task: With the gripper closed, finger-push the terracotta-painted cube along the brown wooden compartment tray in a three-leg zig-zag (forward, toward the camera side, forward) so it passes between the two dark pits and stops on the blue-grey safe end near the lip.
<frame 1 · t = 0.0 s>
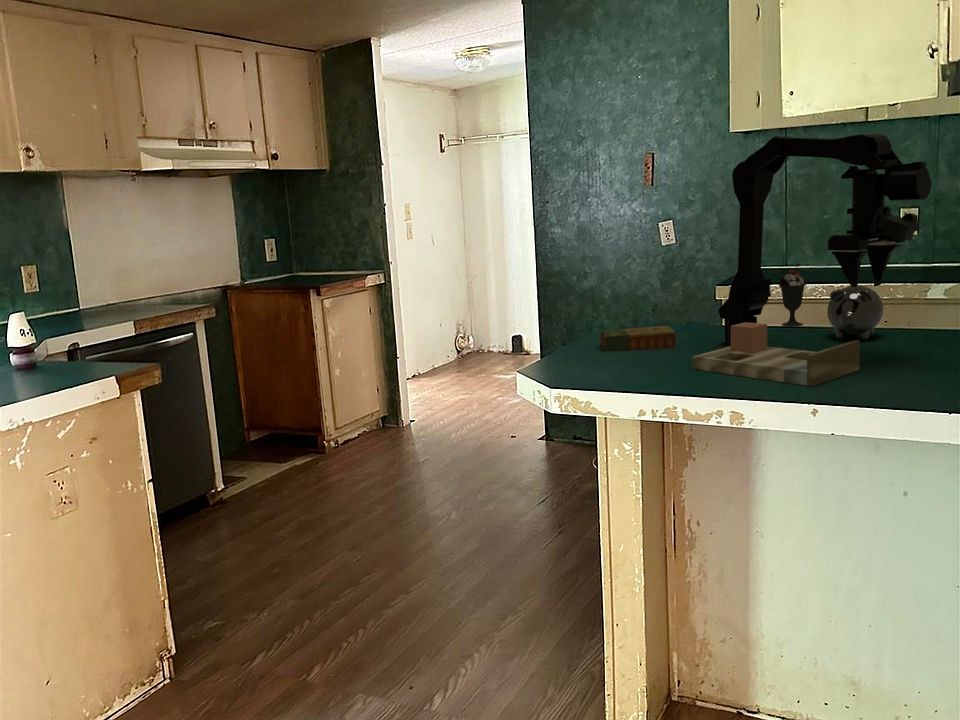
hand: (866, 283, 160), 15 cm above the table, fingers open, 9 cm apart
block: (748, 349, 166), point 2 cm above the table, touching brown wooden compartment tray
carton: (637, 349, 190), on the table
piggy bank: (853, 338, 183), on the table
brown wooden compartment tray: (773, 369, 158), on the table
sundae: (792, 325, 204), on the table
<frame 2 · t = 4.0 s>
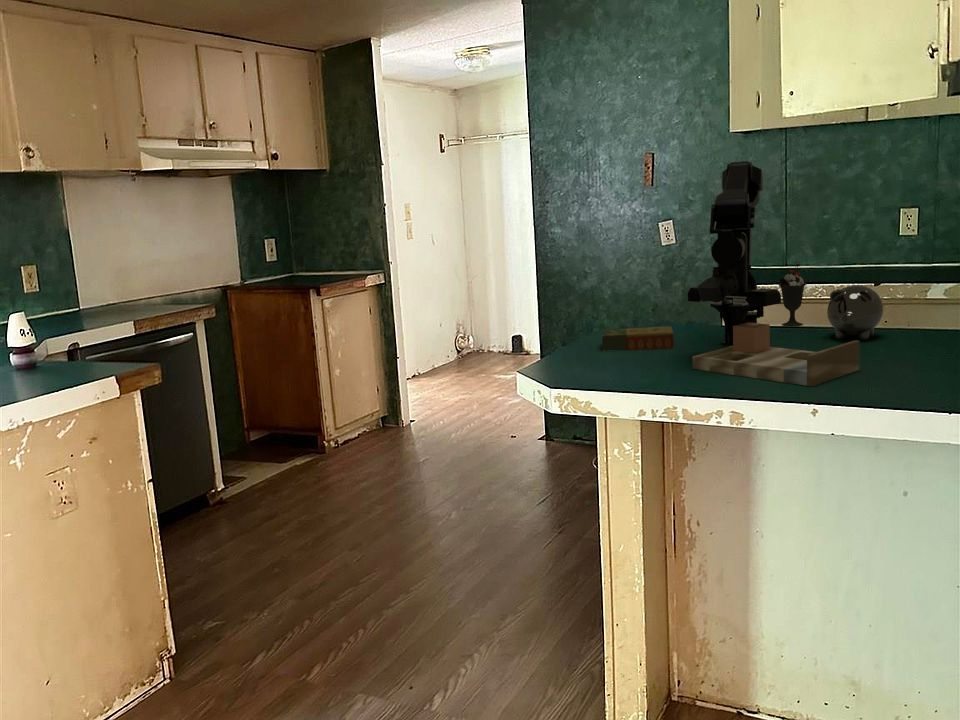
hand: (732, 337, 169), 5 cm above the table, fingers closed
block: (751, 349, 166), point 3 cm above the table, touching gripper
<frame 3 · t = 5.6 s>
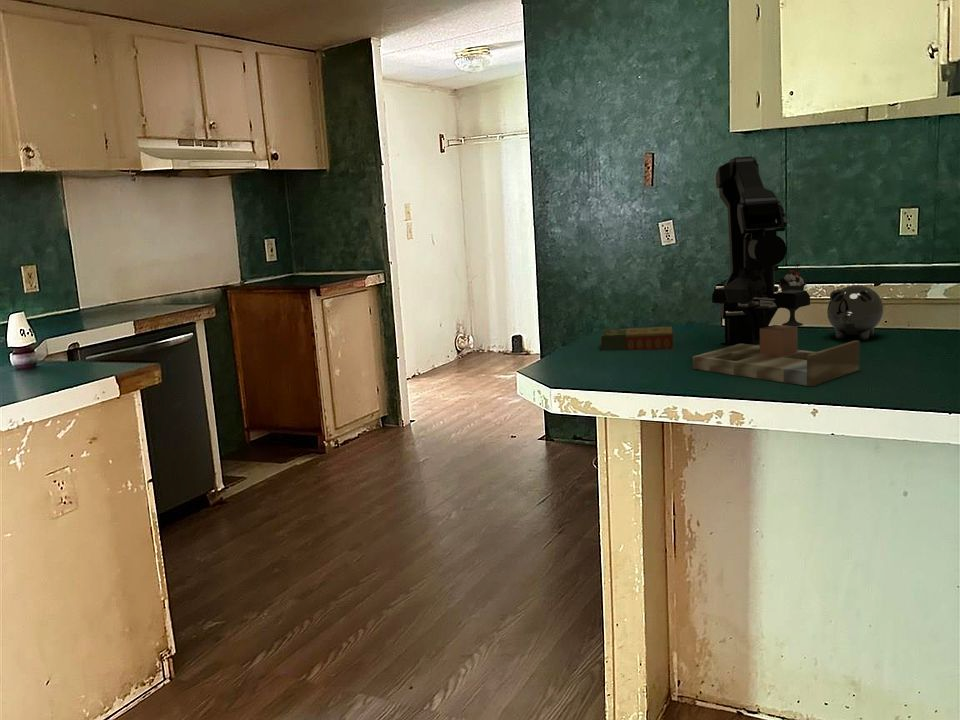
hand: (759, 340, 164), 5 cm above the table, fingers closed
block: (778, 352, 161), point 2 cm above the table, touching brown wooden compartment tray, gripper
everything else where it was.
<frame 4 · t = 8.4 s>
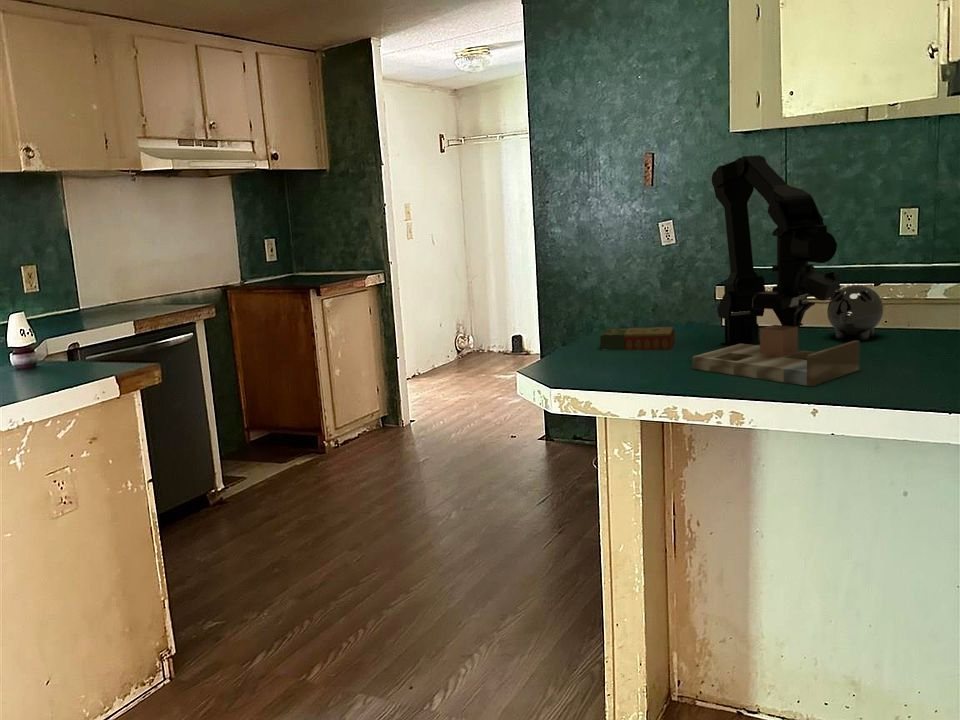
hand: (792, 339, 163), 5 cm above the table, fingers closed
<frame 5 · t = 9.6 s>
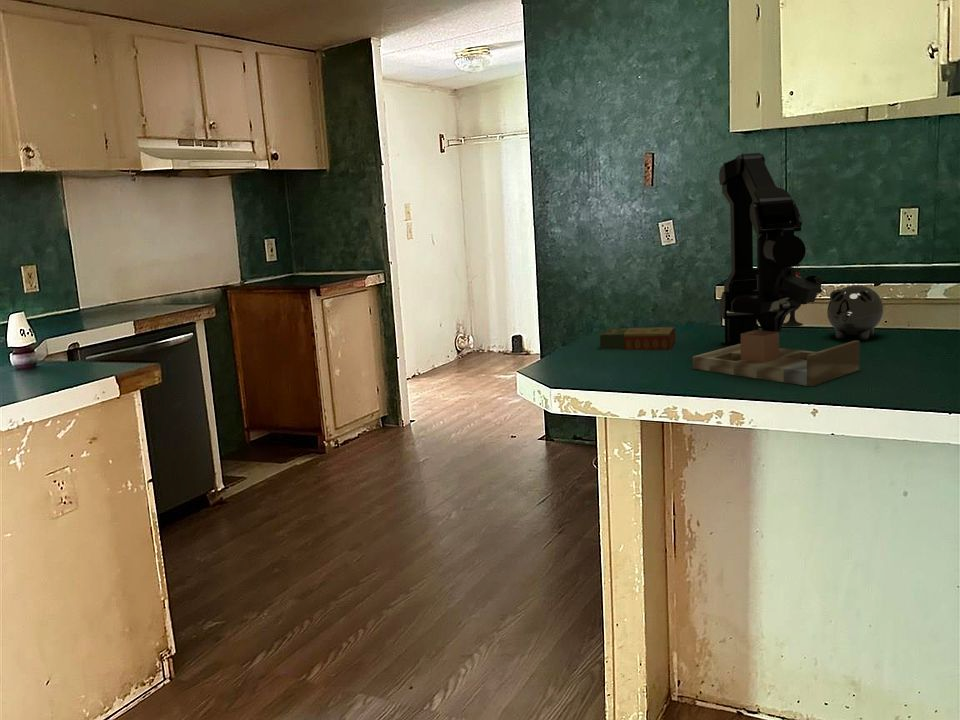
hand: (773, 343, 159), 5 cm above the table, fingers closed
block: (759, 358, 157), point 2 cm above the table, touching brown wooden compartment tray, gripper
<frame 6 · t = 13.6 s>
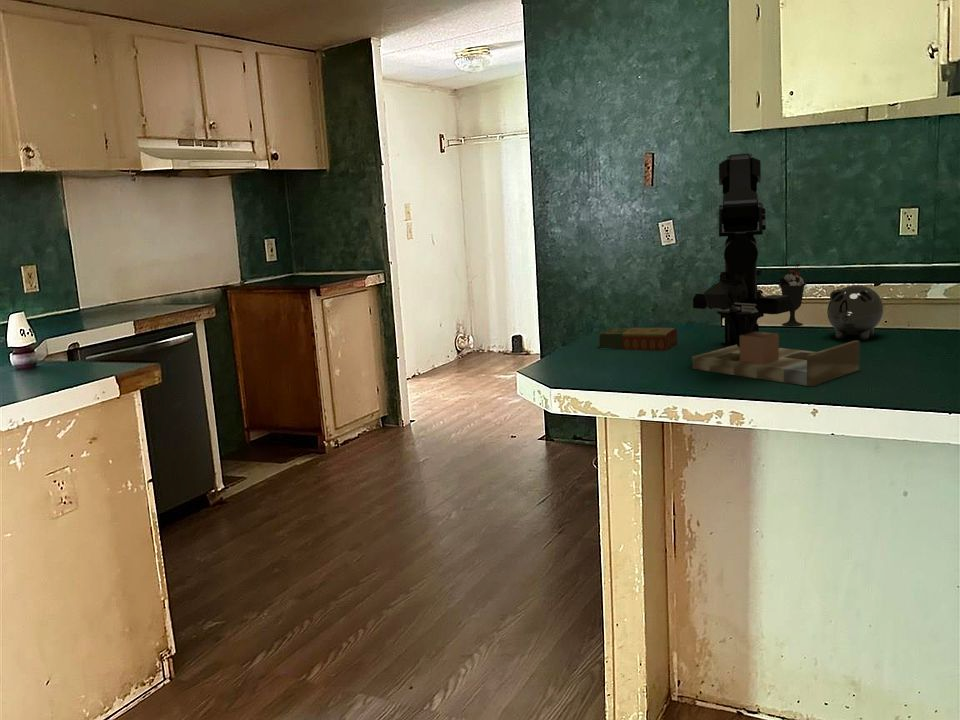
hand: (741, 346, 158), 5 cm above the table, fingers closed
block: (759, 360, 155), point 2 cm above the table, touching brown wooden compartment tray, gripper
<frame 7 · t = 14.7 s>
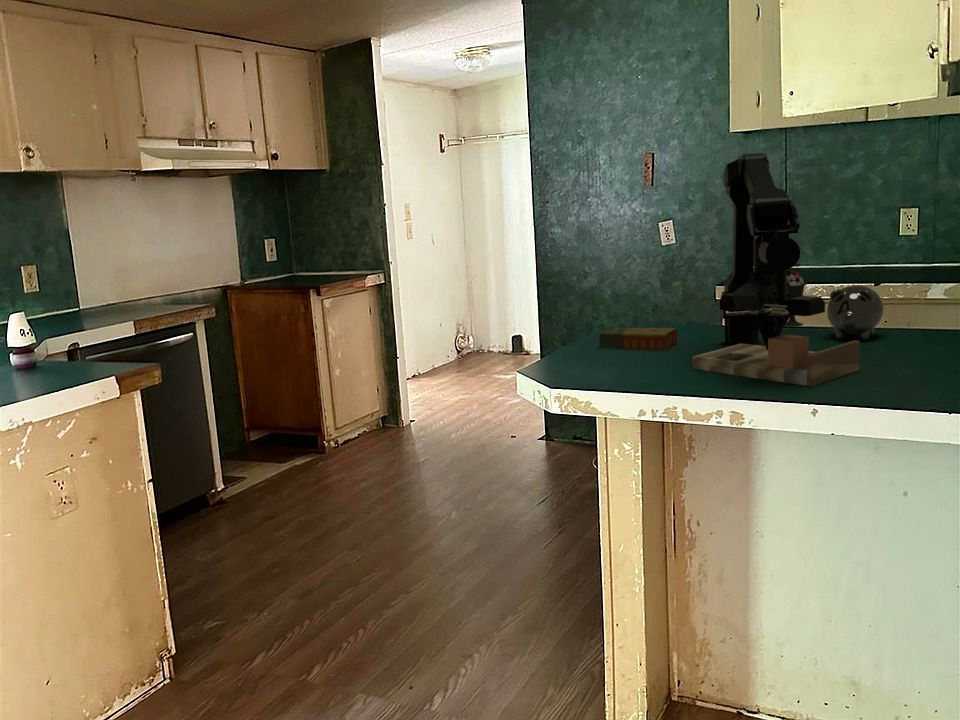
hand: (769, 349, 153), 5 cm above the table, fingers closed
block: (788, 364, 150), point 3 cm above the table, touching gripper
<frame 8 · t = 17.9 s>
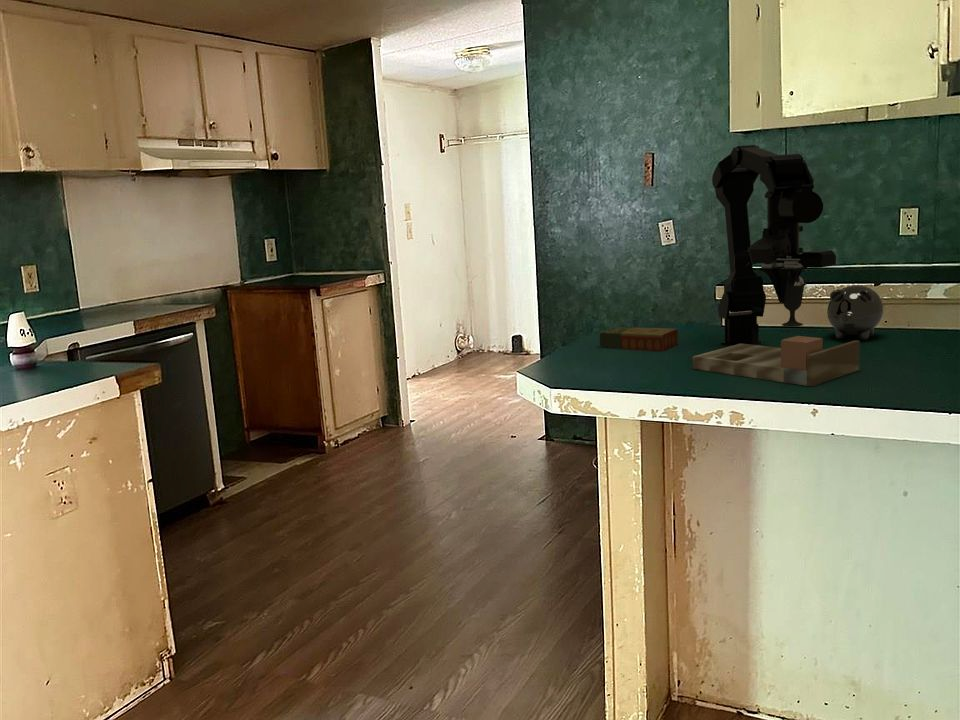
hand: (782, 302, 161), 12 cm above the table, fingers closed
block: (801, 366, 148), point 2 cm above the table, touching brown wooden compartment tray
at the end: block inside the target area on the brown wooden compartment tray (4.8 cm from its centre), point 2.5 cm above the brown wooden compartment tray's base; block tilted 0° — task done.
